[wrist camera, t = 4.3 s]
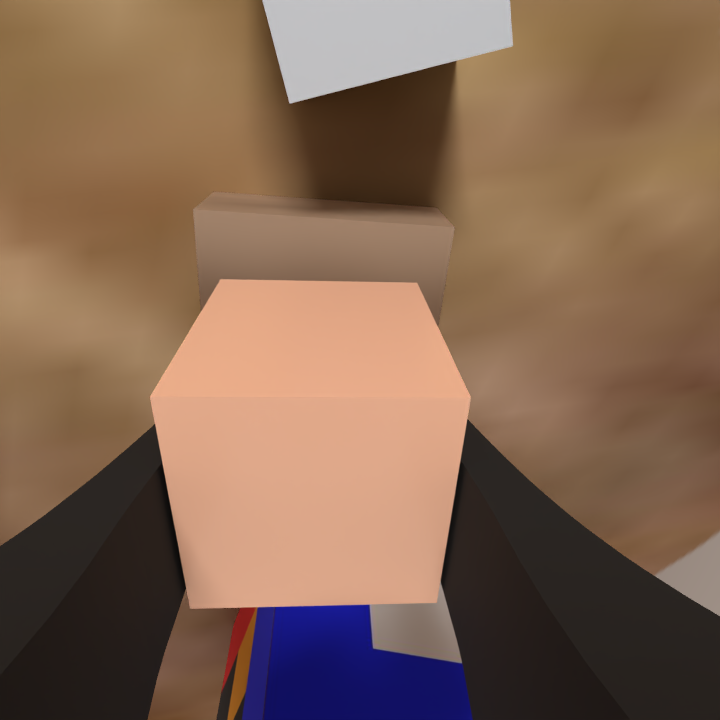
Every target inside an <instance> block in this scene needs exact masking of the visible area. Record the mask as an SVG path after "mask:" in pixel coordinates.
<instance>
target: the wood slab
mask: <svg viewBox="0 0 720 720" xmlns="http://www.w3.org/2000/svg"><path fill="white" fill-rule="evenodd" d="M193 215H194V228H195V241H196V254H197V267H198V280H199V293H200V305H201V311H202V309H203V308H204V306H205V304H206V303H207V301H208V299H209V298H210V296H211V294H212V293H213V291H214V289H215V288H216V286H217V284H218V283H219V281H220V279H237V280H293V281H350V282H406V283H418V286H419V288H420V290H421V292H422V294H423V296H424V298H425V301H426V303H427V305H428V307H429V309H430V311H431V313H432V316H433V318H434V320H435V322H436V324H437V326H438V325H439V319H440V313H441V307H442V301H443V295H444V289H445V283H446V277H447V271H448V265H449V259H450V253H451V247H452V241H453V235H454V229H455V227H454V226H453V225H452V224H451V223H450V221H449V220H448V219H447V218H446V217H445V216H444V215H443V214H442V213H441V212H440V211H439V209H438V208H437V207H424V206H410V205H396V204H382V203H368V202H354V201H340V200H326V199H312V198H297V197H283V196H269V195H255V194H241V193H227V192H213V193H212V194H211V195H209V196H208V197H207V198H206V199H205V200H203V201H202V202H201V203H200V204H199V205H198V206H196V207H195V208H194V209H193Z"/></svg>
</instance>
